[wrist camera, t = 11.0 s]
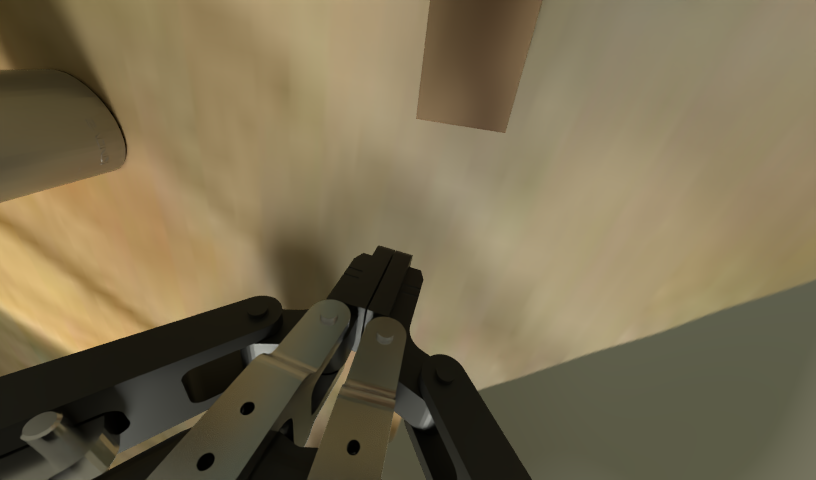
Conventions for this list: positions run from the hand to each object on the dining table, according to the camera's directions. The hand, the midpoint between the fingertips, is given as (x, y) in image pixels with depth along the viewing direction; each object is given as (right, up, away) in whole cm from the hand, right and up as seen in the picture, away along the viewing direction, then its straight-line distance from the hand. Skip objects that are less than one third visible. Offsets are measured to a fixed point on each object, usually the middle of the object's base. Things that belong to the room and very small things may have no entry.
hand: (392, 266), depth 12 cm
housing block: (+5, +14, +5) cm, 16 cm away
